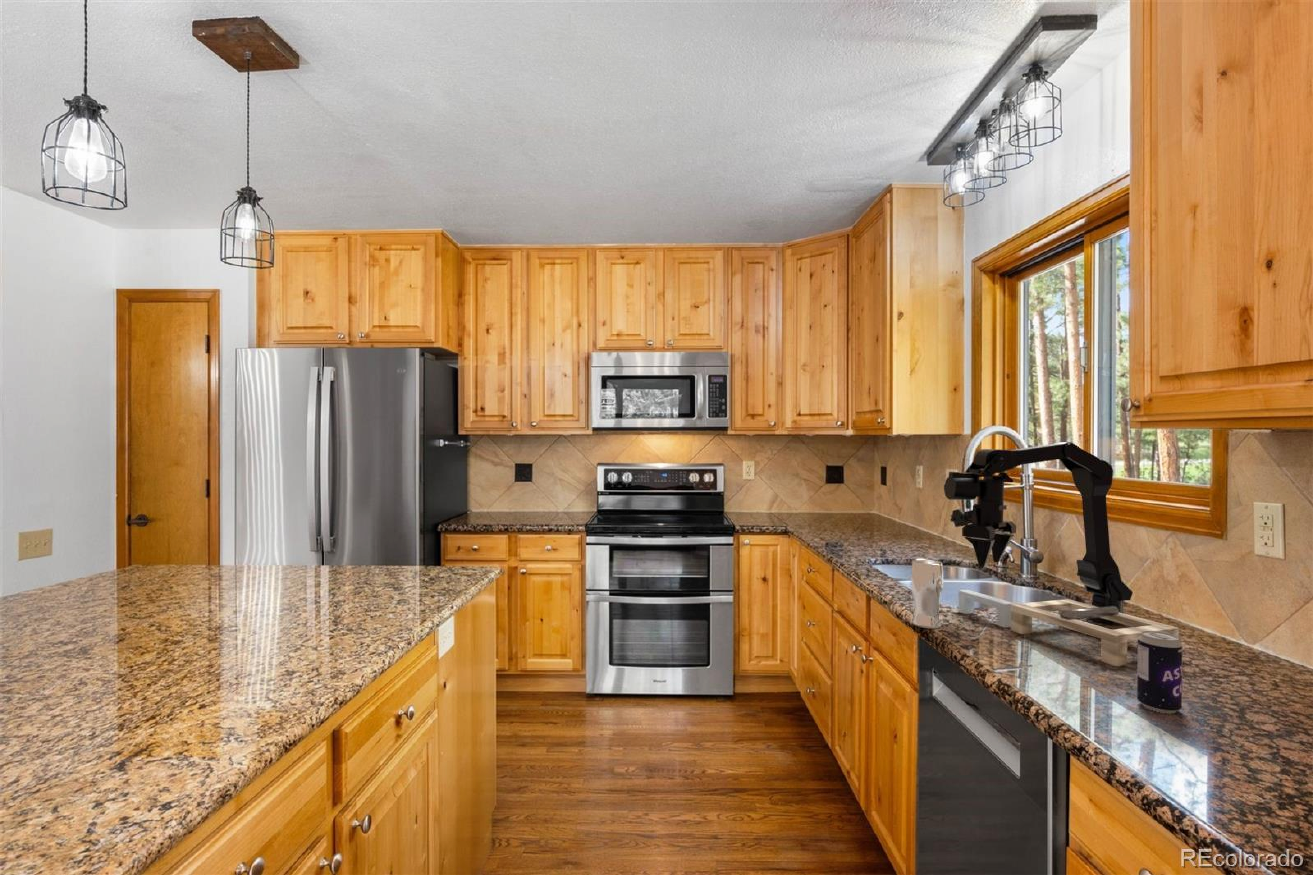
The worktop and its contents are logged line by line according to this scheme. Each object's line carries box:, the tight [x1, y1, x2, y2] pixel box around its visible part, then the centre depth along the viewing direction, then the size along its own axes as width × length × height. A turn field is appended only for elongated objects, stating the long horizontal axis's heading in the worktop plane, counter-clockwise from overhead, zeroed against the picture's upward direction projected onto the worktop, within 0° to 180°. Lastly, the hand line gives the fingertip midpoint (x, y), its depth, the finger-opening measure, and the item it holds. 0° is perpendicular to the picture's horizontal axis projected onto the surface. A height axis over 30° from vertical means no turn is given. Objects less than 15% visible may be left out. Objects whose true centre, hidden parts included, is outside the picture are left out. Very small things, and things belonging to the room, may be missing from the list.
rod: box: [1060, 606, 1119, 620], centre depth 137 cm, size 15×2×2 cm, turn 109°
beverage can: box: [1136, 631, 1183, 715], centre depth 103 cm, size 6×6×12 cm
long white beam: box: [958, 589, 1016, 629], centre depth 154 cm, size 3×14×6 cm, turn 19°
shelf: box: [1010, 598, 1180, 667], centre depth 137 cm, size 18×24×6 cm
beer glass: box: [910, 558, 944, 629], centre depth 148 cm, size 7×7×15 cm
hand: (989, 564), depth 153 cm, fingers open, 9 cm apart
